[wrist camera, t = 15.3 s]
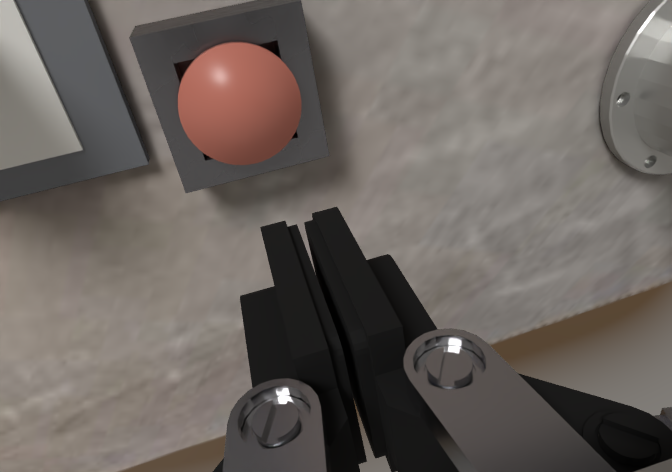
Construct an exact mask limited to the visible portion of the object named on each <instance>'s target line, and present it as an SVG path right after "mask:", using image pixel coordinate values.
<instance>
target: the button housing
mask: <svg viewBox="0 0 672 472" xmlns="http://www.w3.org/2000/svg"><path fill="white" fill-rule="evenodd" d="M129 38H130V41H131V43H132V46H133V49H134V52H135V54H136V57H137V60H138V63H139V65H140V68H141V71H142V74H143V76H144V79H145V82H146V85H147V87H148V90H149V93H150V96H151V98H152V101H153V104H154V107H155V109H156V112H157V115H158V118H159V120H160V123H161V126H162V129H163V131H164V134H165V137H166V140H167V142H168V145H169V148H170V151H171V153H172V156H173V159H174V162H175V164H176V167H177V170H178V173H179V175H180V178H181V181H182V184H183V186H184V189H185V192H186V193H189V192H193V191H197V190H200V189H204V188H208V187H212V186H216V185H220V184H223V183H227V182H231V181H235V180H239V179H243V178H247V177H250V176H254V175H258V174H262V173H266V172H270V171H273V170H277V169H281V168H285V167H289V166H293V165H297V164H300V163H304V162H308V161H312V160H316V159H320V158H323V157H327V156H329V151H328V146H327V140H326V135H325V129H324V124H323V118H322V113H321V107H320V102H319V96H318V91H317V85H316V80H315V74H314V69H313V63H312V58H311V52H310V47H309V42H308V36H307V31H306V25H305V20H304V14H303V9H302V3H301V0H256V1H251V2H246V3H242V4H237V5H232V6H228V7H223V8H218V9H214V10H209V11H204V12H200V13H195V14H190V15H186V16H181V17H176V18H172V19H167V20H162V21H158V22H153V23H148V24H143V25H139V26H135V28H134V30H133V32H132V34H131V35H130V37H129ZM227 42H248V43H252V44H256V45H259V46H261V47H264V48H266V49H267V50H269V51H271V52H273V53H274V54H275V55H276V56H278V57H279V58H280V59H281V60H282V61H283V62H284V63H285V64H286V66H287V67H288V68H289V70H290V71H291V72H292V74H293V76H294V77H295V79H296V82H297V84H298V87H299V90H300V95H301V117H300V121H299V124H298V127H297V129H296V132H295V134H294V135H293V137H292V139H291V140H290V141H289V143H288V144H287V145H286V146H285V147H284V148H283V149H282V150H281V151H280V152H278V153H277V154H276V155H274V156H272V157H271V158H269V159H267V160H265V161H262V162H259V163H255V164H250V165H232V164H227V163H223V162H220V161H217V160H215V159H213V158H211V157H209V156H207V155H206V154H204V153H203V152H202V151H200V150H199V149H198V148H197V147H196V146H195V145H194V144H193V143H192V141H191V140H190V139H189V138H188V136H187V134H186V133H185V131H184V129H183V126H182V124H181V121H180V117H179V112H178V92H179V86H180V83H181V79H182V77H183V75H184V73H185V71H186V70H187V68H188V66H189V65H190V64H191V63H192V61H193V60H194V59H195V58H196V57H198V56H199V55H200V54H201V53H202V52H204V51H206V50H207V49H209V48H211V47H213V46H215V45H219V44H222V43H227Z"/></svg>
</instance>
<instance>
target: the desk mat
mask: <svg viewBox="0 0 672 472" xmlns="http://www.w3.org/2000/svg"><path fill="white" fill-rule="evenodd" d="M148 164H149V156H148V153H147V151H146V148H145V146H144V143H143V140H142V138H141V135H140V133H139V130H138V128H137V125H136V123H135V120H134V117H133V115H132V112H131V110H130V107H129V105H128V102H127V100H126V97H125V94H124V92H123V89H122V87H121V84H120V82H119V79H118V77H117V74H116V71H115V69H114V66H113V64H112V61H111V59H110V56H109V54H108V51H107V48H106V46H105V43H104V41H103V38H102V36H101V33H100V31H99V28H98V25H97V23H96V20H95V18H94V15H93V13H92V10H91V8H90V5H89V2H88V0H0V201H4V200H8V199H12V198H16V197H20V196H24V195H28V194H32V193H36V192H40V191H44V190H48V189H52V188H56V187H60V186H64V185H68V184H72V183H76V182H80V181H84V180H88V179H92V178H96V177H100V176H104V175H108V174H112V173H116V172H120V171H124V170H128V169H132V168H136V167H140V166H144V165H148Z"/></svg>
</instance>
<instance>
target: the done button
mask: <svg viewBox="0 0 672 472" xmlns="http://www.w3.org/2000/svg"><path fill="white" fill-rule="evenodd" d="M178 112H179V117H180V121H181V124H182V126H183V129H184V131H185V133H186V134H187V136H188V138H189V139H190V140H191V141H192V143H193V144H194V145H195V146H196V147H197V148H198V149H199V150H200V151H202V152H203V153H204V154H206V155H207V156H209V157H211V158H213V159H215V160H217V161H220V162H223V163H227V164H232V165H250V164H255V163H259V162H262V161H265V160H267V159H269V158H271V157H272V156H274V155H276V154H277V153H278V152H280V151H281V150H282V149H283V148H284V147H285V146H286V145H287V144H288V143H289V141H290V140H291V139H292V137H293V135H294V134H295V132H296V129H297V127H298V124H299V121H300V117H301V95H300V90H299V87H298V84H297V82H296V79H295V77H294V76H293V74H292V72H291V71H290V70H289V68H288V67H287V66H286V64H285V63H284V62H283V61H282V60H281V59H280V58H279V57H278V56H276V55H275V54H274V53H273V52H271V51H269V50H267V49H266V48H264V47H261V46H259V45H256V44H252V43H248V42H227V43H222V44H219V45H215V46H213V47H211V48H209V49H207V50H206V51H204V52H202V53H201V54H200V55H199V56H198V57H196V58H195V59H194V60H193V61H192V63H191V64H190V65H189V66H188V68H187V70H186V71H185V73H184V75H183V77H182V79H181V83H180V86H179V92H178Z"/></svg>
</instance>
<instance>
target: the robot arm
mask: <svg viewBox="0 0 672 472" xmlns="http://www.w3.org/2000/svg"><path fill="white" fill-rule="evenodd" d="M600 122H601V127H602V132H603V136H604V139H605V141H606V143H607V145H608V147H609V149H610V151H611V152H612V153H613V154H614V155H615V156H616V157H617V158H618V159H619V160H620V161H622V162H623V163H625V164H627V165H628V166H630V167H632V168H634V169H636V170H638V171H640V172H642V173H646V174H654V175H666V174H672V0H650V1H649V2H648V3H647V5H646V6H645V7H644V8H643V9H642V11H641V12H640V13H639V14H638V15H637V17H636V18H635V19H634V20H633V22H632V23H631V25H630V27H629V28H628V30H627V31H626V33H625V34H624V36H623V37H622V39H621V41H620V43H619V45H618V47H617V49H616V51H615V53H614V55H613V57H612V59H611V61H610V64H609V67H608V70H607V74H606V77H605V80H604V83H603V89H602V95H601V101H600ZM312 217H313V220H311V221H308V222H304V224H305V229H306V233H307V238H308V242H309V247H310V251H311V255H312V260H313V264H314V268H315V272H314V269H313V266H312V264H311V261H310V258H309V256H308V253H307V250H306V248H305V245H304V242H303V240H302V237H301V234H300V232H299V229H298V226H297V224H296V225H293V226H289V227H287V224H286V222H285V221H282V222H278V223H274V224H270V225H267V226H263V227H260V228H261V232H262V236H263V240H264V244H265V248H266V252H267V256H268V261H269V265H270V269H271V273H272V277H273V281H274V285H275V286H274V287H270V288H267V289H263V290H260V291H256V292H253V293H249V294H245V295H242V296H240V301H241V309H242V316H243V323H244V330H245V337H246V344H247V352H248V359H249V366H250V373H251V380H252V387H253V388H252V389H250V390H249V391H247V392H246V393H245V394H244V395H243V396H242V397H241V398H240V399H239V400H238V401H237V403H236V404H235V406H234V408H233V409H232V411H231V413H230V416H229V420H228V424H227V432H226V442H225V452H224V458H223V460H222V461H221V462H220V463H219V465H218V466H217V467H216V468H215V470H214V471H213V472H360V469H359V465H358V464H361V463H363V462H366V461H367V460H366V455H365V450H364V446H363V441H362V436H361V432H360V427H359V423H358V418H357V413H356V409H355V404H356V406H357V409H358V412H359V415H360V417H361V420H362V423H363V426H364V429H365V432H366V435H367V437H368V440H369V443H370V445H371V448H372V451H373V454H374V456H375V458H379V457H382V456H386V458H387V461H388V464H389V466H390V469H391V472H395V471H398V472H672V407H667V408H662V410H661V414H660V415H656V416H652V415H651V414H649V413H647V412H644V411H642V410H639V409H637V408H634V407H632V406H628V405H624V404H621V403H618V402H614V401H611V400H608V399H604V398H601V397H597V396H594V395H590V394H587V393H583V392H580V391H577V390H573V389H570V388H566V387H563V386H559V385H556V384H552V383H549V382H545V381H542V380H539V379H535V378H531V377H528V376H525V375H522V374H518V373H517V372H516V371H515V370H514V369H513V368H512V367H511V366H510V365H509V364H508V363H507V362H506V361H505V360H504V359H503V358H502V357H501V356H500V355H498V353H497V352H496V351H495V350H494V349H493V348H492V347H491V346H490V345H489V344H488V343H486V342H485V341H484V340H482V339H481V338H480V337H478V336H477V335H474V334H472V333H469V332H467V331H464V330H458V329H437V328H436V326H435V325H434V323H433V321H432V320H431V318H430V317H429V315H428V314H427V312H426V310H425V309H424V307H423V306H422V304H421V302H420V301H419V299H418V298H417V296H416V295H415V293H414V291H413V290H412V288H411V287H410V285H409V283H408V282H407V280H406V279H405V277H404V276H403V274H402V272H401V271H400V269H399V268H398V266H397V264H396V263H395V261H394V260H393V258H392V257H391V256H390V255H388V254H387V255H383V256H380V257H376V258H373V259H369V260H366V258H365V257H364V255H363V253H362V251H361V249H360V247H359V246H358V244H357V242H356V240H355V238H354V236H353V235H352V233H351V231H350V229H349V227H348V225H347V224H346V222H345V220H344V218H343V216H342V215H341V213H340V211H339V209H338V208H337V207H334V208H330V209H327V210H323V211H319V212H315V213H312ZM315 273H316V274H315ZM353 398H354V399H353ZM354 401H355V404H354Z"/></svg>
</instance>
